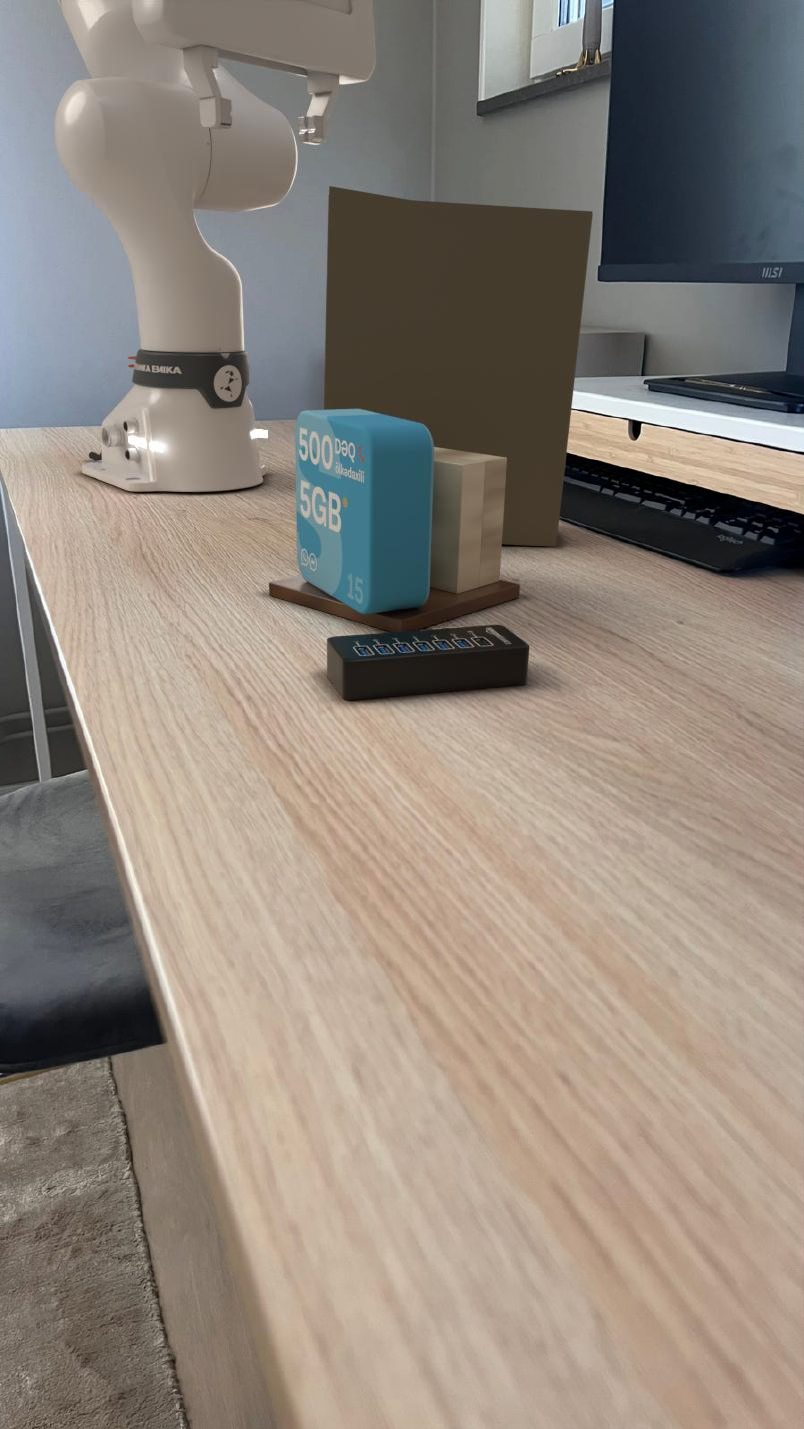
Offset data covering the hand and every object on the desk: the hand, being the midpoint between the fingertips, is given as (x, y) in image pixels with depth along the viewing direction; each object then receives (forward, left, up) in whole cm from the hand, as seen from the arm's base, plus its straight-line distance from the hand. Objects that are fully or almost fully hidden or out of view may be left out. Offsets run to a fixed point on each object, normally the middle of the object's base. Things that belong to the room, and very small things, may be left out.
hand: (266, 136), depth 77 cm
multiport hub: (+30, -15, -31) cm, 46 cm away
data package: (+17, -7, -30) cm, 36 cm away
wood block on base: (+17, -4, -31) cm, 36 cm away
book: (+6, +15, -31) cm, 35 cm away
